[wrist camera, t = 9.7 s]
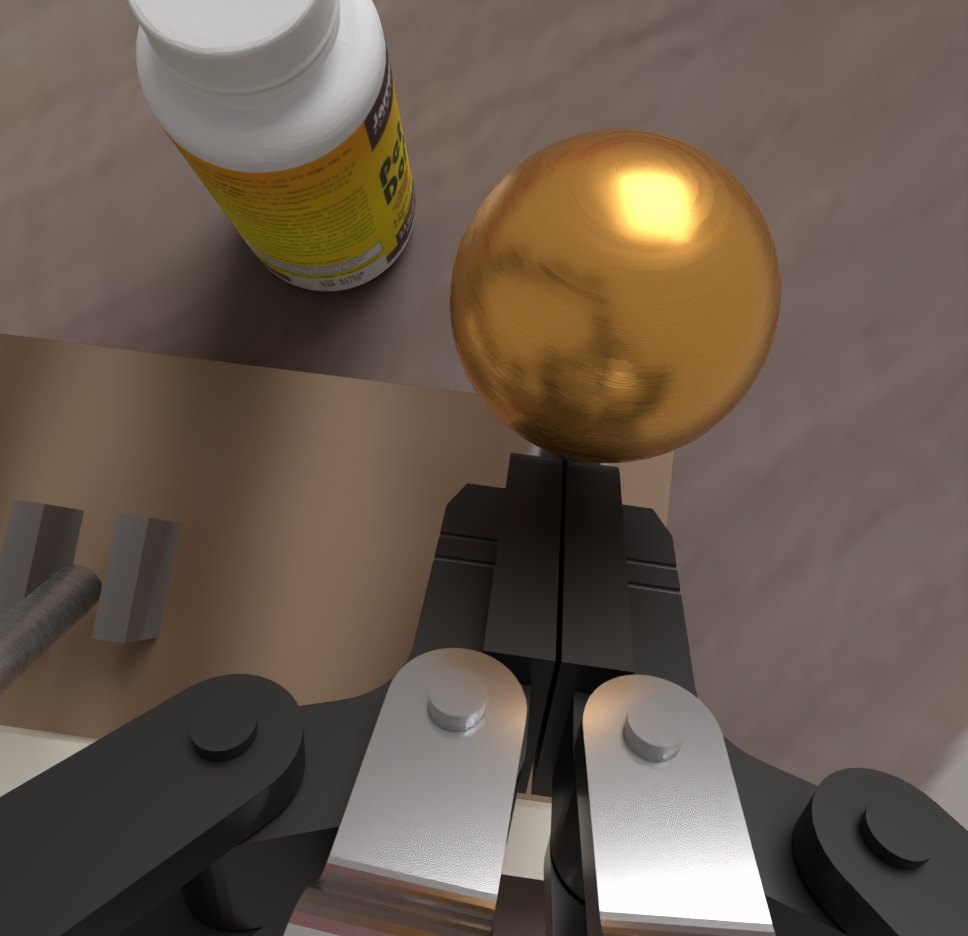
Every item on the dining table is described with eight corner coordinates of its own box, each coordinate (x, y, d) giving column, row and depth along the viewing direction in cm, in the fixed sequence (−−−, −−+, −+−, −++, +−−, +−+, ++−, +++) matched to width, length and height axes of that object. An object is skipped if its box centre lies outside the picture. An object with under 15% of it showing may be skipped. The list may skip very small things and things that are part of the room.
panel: (-231, 727, 22) (-426, 768, 18) (-131, 339, 24) (-284, 280, 19) (611, 849, 22) (645, 925, 17) (653, 439, 23) (694, 403, 19)
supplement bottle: (432, 281, 24) (388, 68, 14) (260, 311, 24) (90, 119, 14) (403, 123, 25) (343, -187, 15) (237, 151, 25) (62, -141, 15)
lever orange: (443, 680, 18) (416, 304, 6) (463, 546, 19) (475, 33, 7) (588, 700, 18) (862, 358, 6) (596, 563, 19) (825, 72, 7)
